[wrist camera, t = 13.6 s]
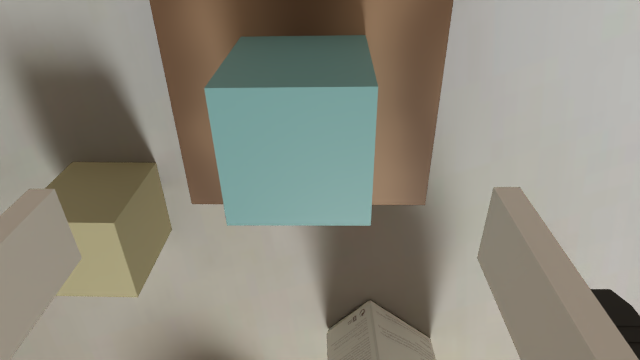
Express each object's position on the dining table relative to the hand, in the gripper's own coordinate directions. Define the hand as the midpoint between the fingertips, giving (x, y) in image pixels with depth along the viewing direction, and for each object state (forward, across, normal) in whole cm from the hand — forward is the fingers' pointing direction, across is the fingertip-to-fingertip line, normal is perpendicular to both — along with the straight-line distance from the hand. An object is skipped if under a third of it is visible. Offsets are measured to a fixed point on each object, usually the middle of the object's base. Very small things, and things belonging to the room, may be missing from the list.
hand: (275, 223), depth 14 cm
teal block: (+11, 0, 0) cm, 11 cm away
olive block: (+16, -14, -10) cm, 23 cm away
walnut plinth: (+16, 0, 0) cm, 16 cm away
